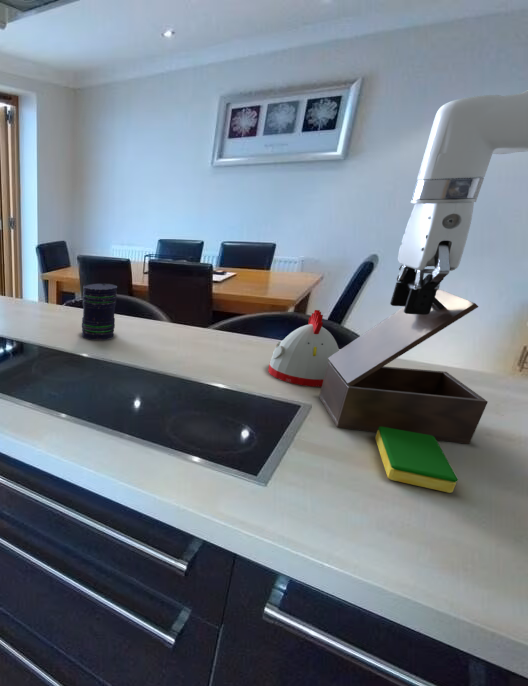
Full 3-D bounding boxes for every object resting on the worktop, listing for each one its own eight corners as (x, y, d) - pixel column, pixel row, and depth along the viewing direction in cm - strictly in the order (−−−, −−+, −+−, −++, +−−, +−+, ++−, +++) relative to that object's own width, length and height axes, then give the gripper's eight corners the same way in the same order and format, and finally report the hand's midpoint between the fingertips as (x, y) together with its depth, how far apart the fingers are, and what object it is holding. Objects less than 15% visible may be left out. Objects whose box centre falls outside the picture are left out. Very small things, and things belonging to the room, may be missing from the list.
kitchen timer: (272, 382, 98) (286, 316, 92) (264, 361, 110) (277, 302, 104) (346, 390, 93) (366, 321, 87) (330, 367, 105) (347, 305, 99)
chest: (431, 409, 84) (446, 371, 81) (469, 444, 72) (488, 401, 69) (318, 397, 90) (328, 361, 87) (336, 427, 79) (348, 387, 76)
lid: (436, 289, 77) (413, 267, 77) (479, 306, 65) (452, 280, 65) (330, 360, 87) (310, 341, 87) (350, 386, 75) (327, 364, 75)
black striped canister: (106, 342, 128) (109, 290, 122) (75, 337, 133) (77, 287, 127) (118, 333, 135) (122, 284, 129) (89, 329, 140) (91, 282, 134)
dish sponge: (387, 480, 64) (392, 465, 63) (374, 437, 75) (378, 425, 74) (452, 494, 61) (459, 479, 60) (429, 448, 72) (434, 435, 71)
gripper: (511, 191, 58) (463, 324, 66) (448, 191, 73) (414, 300, 80) (440, 193, 61) (401, 321, 68) (393, 193, 76) (365, 298, 83)
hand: (408, 308), depth 74 cm, fingers closed on lid, 5 cm apart
